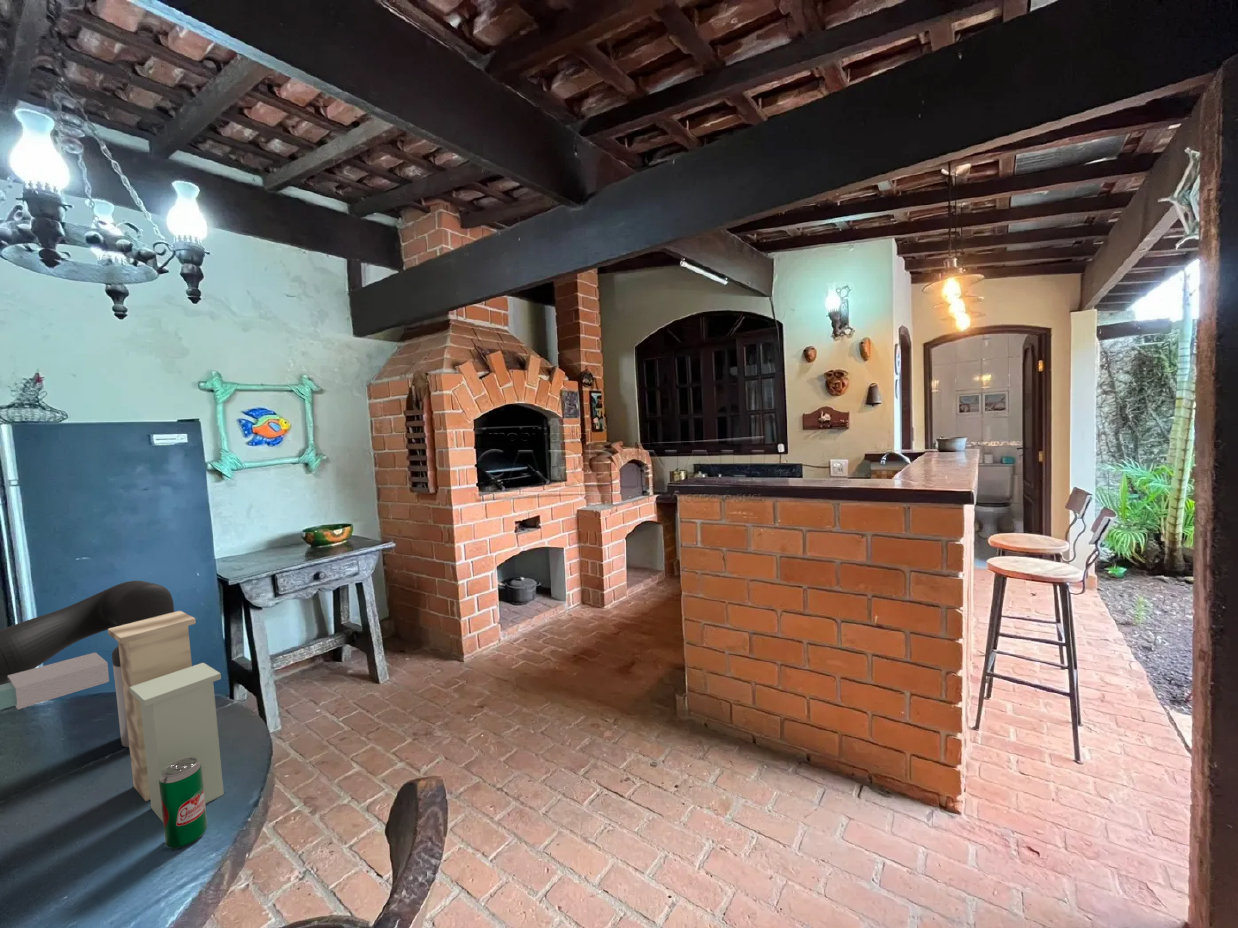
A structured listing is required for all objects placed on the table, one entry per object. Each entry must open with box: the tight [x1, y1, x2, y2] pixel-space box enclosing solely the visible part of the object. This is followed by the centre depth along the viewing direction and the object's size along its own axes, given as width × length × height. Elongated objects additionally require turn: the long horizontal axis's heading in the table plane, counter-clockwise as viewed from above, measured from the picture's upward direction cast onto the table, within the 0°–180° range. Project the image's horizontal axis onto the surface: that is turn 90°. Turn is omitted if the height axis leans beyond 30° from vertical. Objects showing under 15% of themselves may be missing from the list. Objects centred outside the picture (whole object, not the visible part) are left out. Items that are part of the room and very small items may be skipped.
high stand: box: [107, 610, 197, 802], centre depth 92 cm, size 8×10×30 cm
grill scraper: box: [0, 652, 110, 710], centre depth 71 cm, size 7×18×3 cm, turn 147°
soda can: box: [159, 757, 208, 850], centre depth 79 cm, size 5×5×12 cm
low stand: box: [129, 662, 225, 823], centre depth 87 cm, size 8×10×22 cm
